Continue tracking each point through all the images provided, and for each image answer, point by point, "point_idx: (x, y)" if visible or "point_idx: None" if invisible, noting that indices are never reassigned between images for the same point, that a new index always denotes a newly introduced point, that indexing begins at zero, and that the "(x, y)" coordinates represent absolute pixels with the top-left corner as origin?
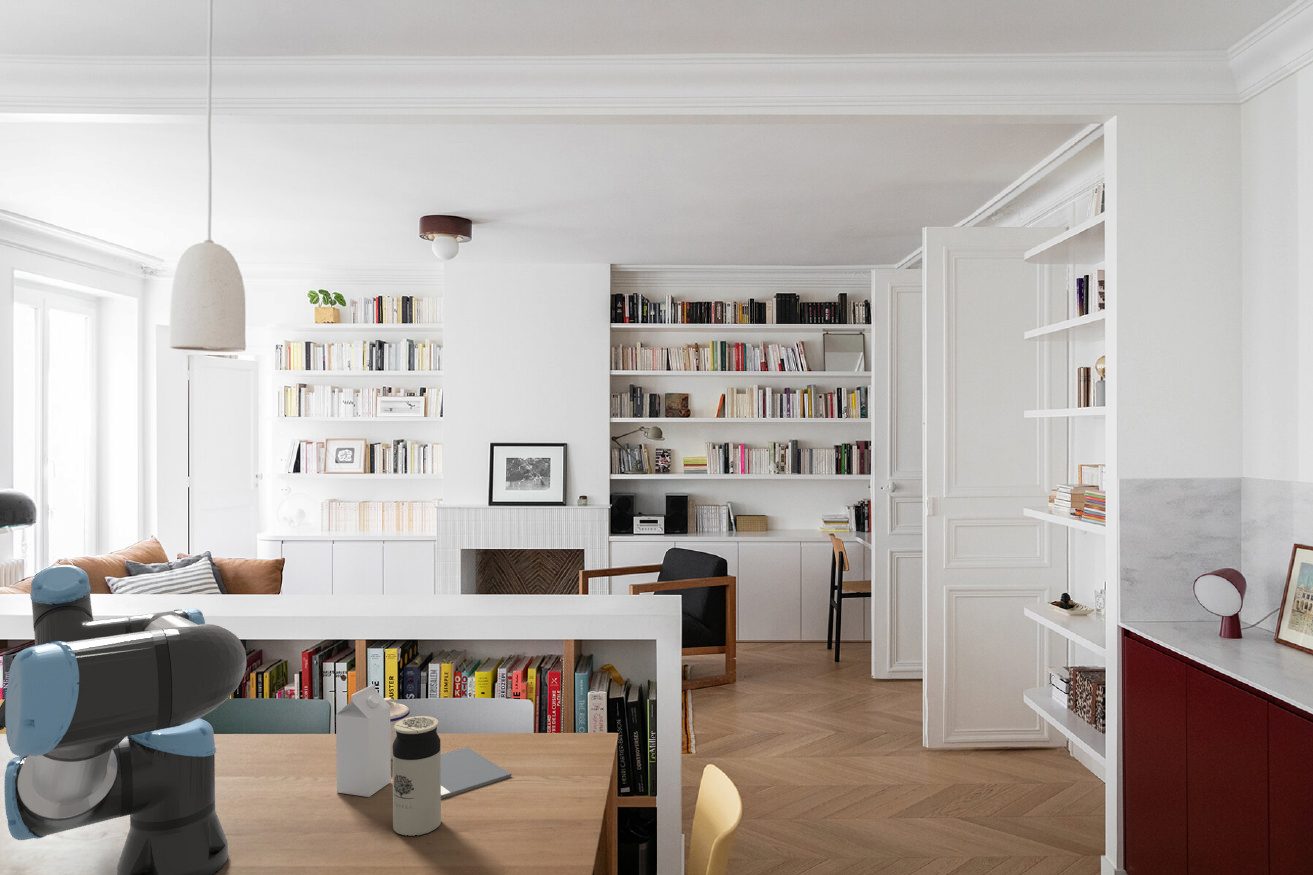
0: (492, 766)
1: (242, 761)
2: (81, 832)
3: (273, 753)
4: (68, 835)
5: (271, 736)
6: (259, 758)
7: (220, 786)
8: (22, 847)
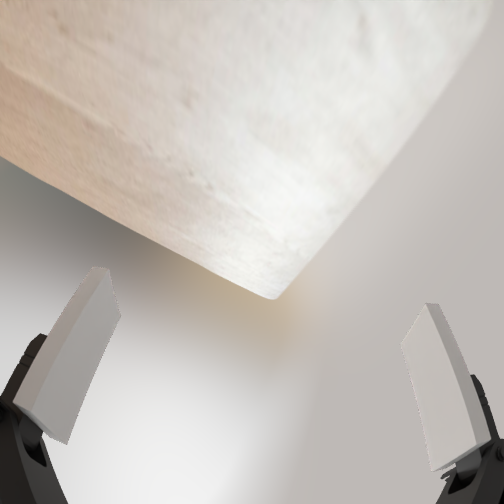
0: None
1: (35, 124)
2: (319, 4)
3: (8, 126)
4: (349, 14)
5: (29, 169)
6: (18, 121)
7: (40, 54)
8: (443, 53)
